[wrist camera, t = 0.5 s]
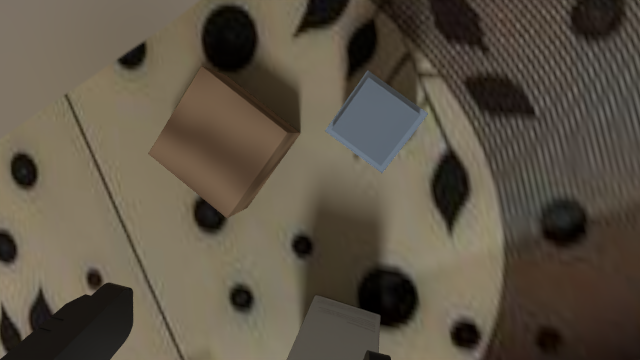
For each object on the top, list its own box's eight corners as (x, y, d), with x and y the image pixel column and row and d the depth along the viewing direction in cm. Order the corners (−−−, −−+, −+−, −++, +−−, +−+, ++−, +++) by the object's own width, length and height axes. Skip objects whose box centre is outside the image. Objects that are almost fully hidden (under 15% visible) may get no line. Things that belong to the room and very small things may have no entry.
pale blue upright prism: (373, 89, 33) (367, 68, 22) (415, 120, 32) (429, 113, 22) (342, 132, 34) (323, 130, 23) (383, 162, 33) (381, 174, 23)
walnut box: (226, 75, 36) (201, 65, 31) (301, 133, 35) (287, 132, 30) (178, 151, 38) (148, 153, 33) (248, 207, 37) (227, 218, 32)
